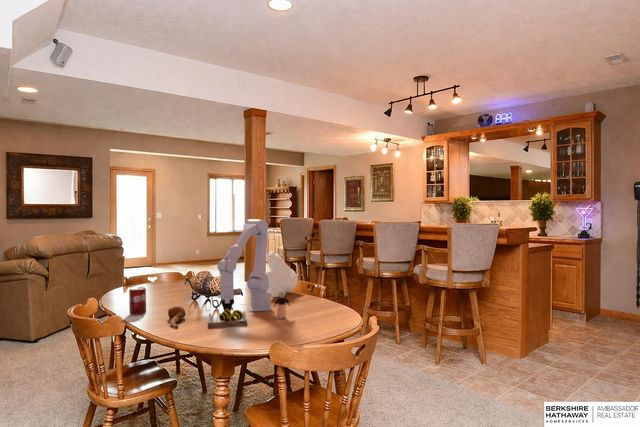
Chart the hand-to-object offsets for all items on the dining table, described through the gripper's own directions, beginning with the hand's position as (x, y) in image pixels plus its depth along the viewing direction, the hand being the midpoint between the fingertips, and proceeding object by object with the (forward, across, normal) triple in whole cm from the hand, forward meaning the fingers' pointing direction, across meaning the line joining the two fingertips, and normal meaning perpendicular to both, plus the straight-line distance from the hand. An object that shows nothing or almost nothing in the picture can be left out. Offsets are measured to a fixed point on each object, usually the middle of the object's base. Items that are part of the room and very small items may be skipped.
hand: (227, 315), depth 190 cm
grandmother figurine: (+1, +6, +24) cm, 25 cm away
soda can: (+1, -18, -41) cm, 45 cm away
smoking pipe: (+1, +2, -21) cm, 21 cm away
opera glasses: (+1, +6, +1) cm, 6 cm away
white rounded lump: (+1, -46, +29) cm, 55 cm away
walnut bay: (+1, +6, 0) cm, 6 cm away
